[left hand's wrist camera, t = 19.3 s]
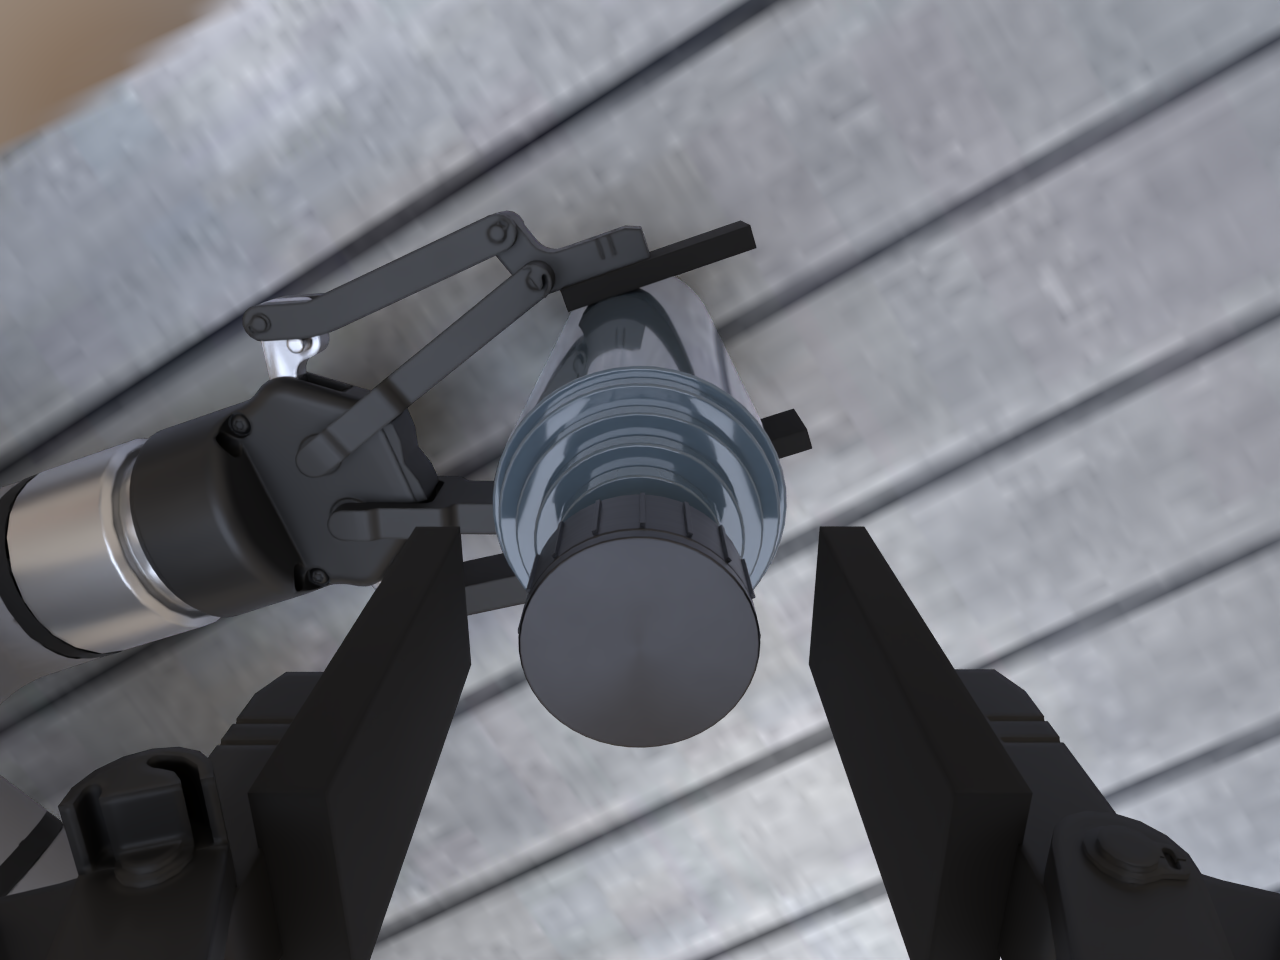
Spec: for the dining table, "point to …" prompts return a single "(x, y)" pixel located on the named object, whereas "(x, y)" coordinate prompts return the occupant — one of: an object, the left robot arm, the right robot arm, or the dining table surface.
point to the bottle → (640, 429)
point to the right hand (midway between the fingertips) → (775, 334)
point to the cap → (639, 622)
